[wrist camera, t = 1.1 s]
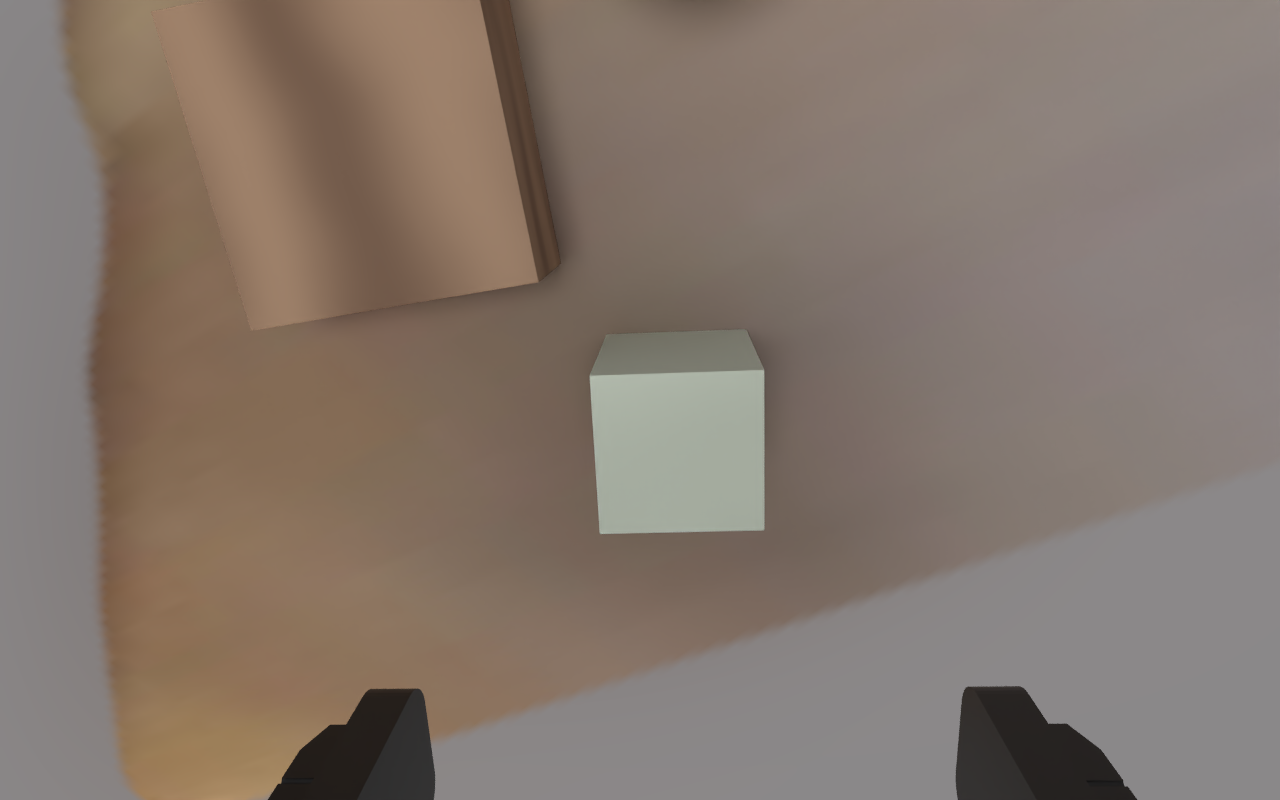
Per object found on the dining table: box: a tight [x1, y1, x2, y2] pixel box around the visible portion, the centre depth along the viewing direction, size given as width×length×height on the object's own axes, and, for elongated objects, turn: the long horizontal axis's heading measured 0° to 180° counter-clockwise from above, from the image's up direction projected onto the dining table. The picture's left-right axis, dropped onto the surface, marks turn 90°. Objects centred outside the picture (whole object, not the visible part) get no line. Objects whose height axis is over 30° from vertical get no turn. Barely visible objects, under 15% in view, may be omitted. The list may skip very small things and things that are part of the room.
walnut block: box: [151, 0, 561, 331], centre depth 25 cm, size 9×9×5 cm
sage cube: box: [590, 329, 764, 534], centre depth 26 cm, size 5×5×6 cm
